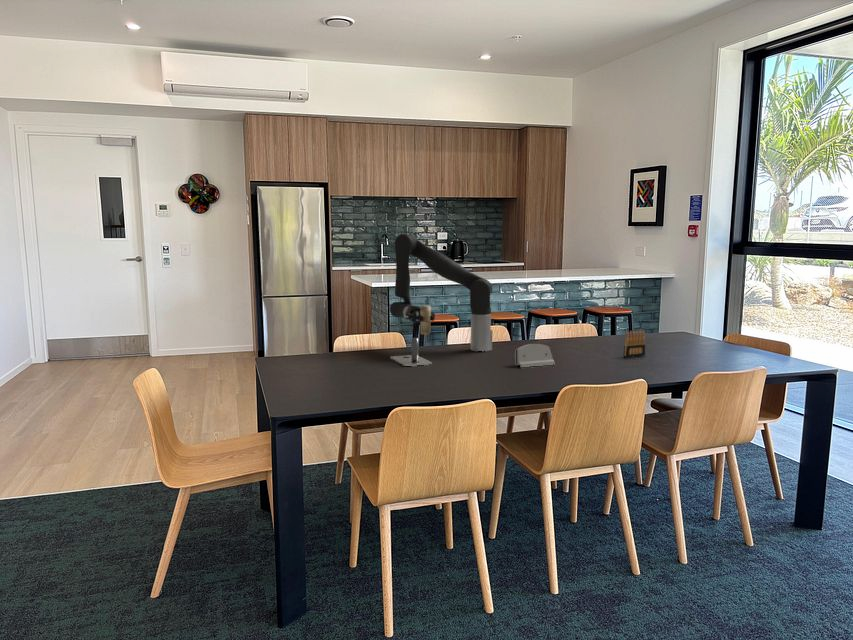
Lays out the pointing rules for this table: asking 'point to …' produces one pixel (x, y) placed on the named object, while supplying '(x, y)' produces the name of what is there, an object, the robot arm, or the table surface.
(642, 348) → the ammunition clip
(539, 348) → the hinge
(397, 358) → the bolt plate
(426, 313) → the oak post
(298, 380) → the table surface
